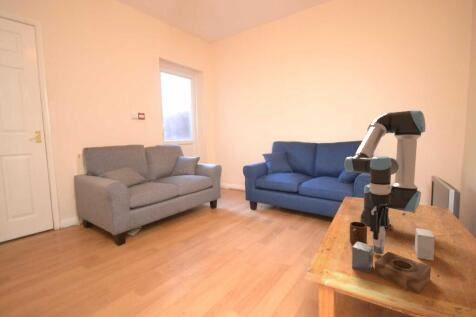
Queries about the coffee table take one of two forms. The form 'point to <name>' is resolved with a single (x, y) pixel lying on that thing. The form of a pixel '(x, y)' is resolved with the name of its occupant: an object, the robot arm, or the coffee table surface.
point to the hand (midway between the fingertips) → (378, 244)
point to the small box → (424, 244)
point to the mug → (358, 232)
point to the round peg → (380, 249)
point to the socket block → (403, 271)
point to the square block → (362, 257)
